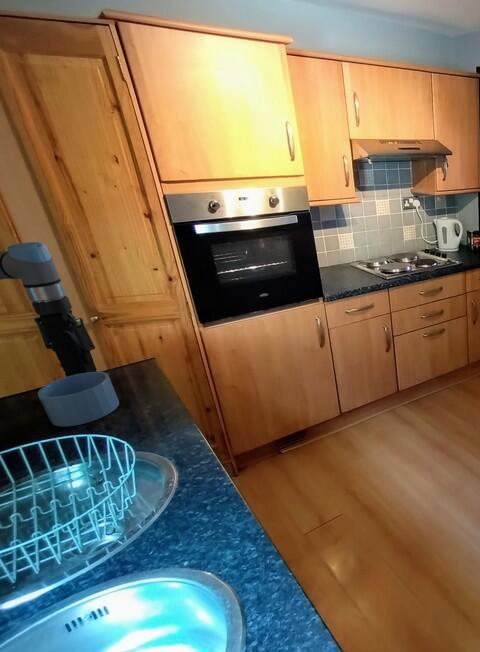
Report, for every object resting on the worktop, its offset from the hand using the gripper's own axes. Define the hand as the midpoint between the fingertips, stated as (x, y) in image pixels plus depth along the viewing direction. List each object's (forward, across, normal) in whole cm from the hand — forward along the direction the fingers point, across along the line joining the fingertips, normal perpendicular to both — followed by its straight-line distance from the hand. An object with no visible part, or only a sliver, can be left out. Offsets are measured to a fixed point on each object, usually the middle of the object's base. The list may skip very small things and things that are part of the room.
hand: (80, 370), depth 136 cm
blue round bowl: (+7, -11, +10) cm, 16 cm away
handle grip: (+7, 0, 0) cm, 7 cm away
